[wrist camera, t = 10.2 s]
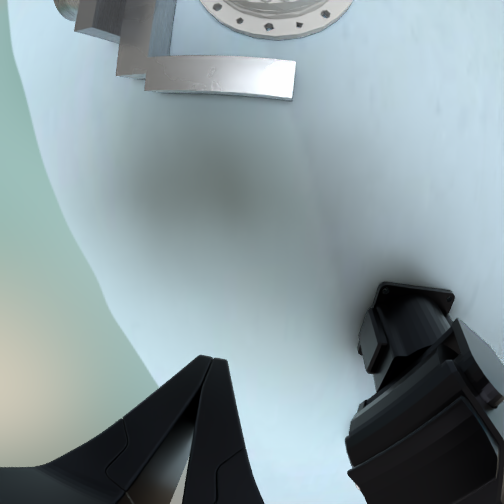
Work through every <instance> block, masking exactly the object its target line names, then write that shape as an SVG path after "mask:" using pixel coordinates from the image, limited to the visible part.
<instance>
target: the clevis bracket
mask: <svg viewBox="0 0 504 504" xmlns="http://www.w3.org/2000/svg"><path fill="white" fill-rule="evenodd" d="M54 3H55V6H56V8H57V10H58V11H59V13H60V14H61V15H62V16H63V17H64V18H66V19H68V20H70V21H76V23H75V29H74V32H79V33H82V34H86V35H90V36H94V37H98V38H101V39H105V40H108V41H111V42H115V43H118V44H119V51H118V59H117V69H116V76H120V77H127V78H133V79H145V90H144V91H152V92H160V93H199V94H222V95H237V96H250V97H261V98H270V99H279V100H287V101H292V99H293V90H294V82H295V73H296V61H289V60H280V59H269V58H258V57H242V56H217V55H182V56H169V49H170V41H171V34H172V26H173V19H174V13H175V6H176V0H54Z"/></svg>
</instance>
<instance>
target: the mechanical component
mask: <svg viewBox="0 0 504 504" xmlns="http://www.w3.org/2000/svg"><path fill="white" fill-rule="evenodd" d="M200 1H201V3H202V4H203V5H204V7H205V8H206V9H207V10H208V11H209V12H210V13H211V14H212V15H213V16H214V17H215V18H216V19H217V20H218V21H219V22H220V23H221V24H223V25H225V26H226V27H228V28H230V29H232V30H233V31H236V32H239V33H242V34H245V35H248V36H250V37H253V38H262V39H272V40H286V39H294V38H302V37H305V36H308V35H311V34H314V33H317V32H320V31H322V30H323V29H325V28H327V27H328V26H330V25H331V24H333V23H334V22H336V21H337V20H338V19H339V18H340V17H341V16H342V15H343V14H344V13H345V12H346V11H347V10H348V8H349V6H350V5H351V3H352V1H353V0H200ZM220 9H221V10H220ZM218 10H219V11H218ZM323 15H325V16H326V17H327V18H323V17H322V16H323ZM242 22H243V23H242ZM240 23H242V24H240ZM297 26H299V27H301V28H297ZM267 28H274V29H272V30H270V31H268V32H267V31H266V30H267Z"/></svg>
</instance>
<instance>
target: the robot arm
mask: <svg viewBox="0 0 504 504" xmlns="http://www.w3.org/2000/svg"><path fill="white" fill-rule="evenodd" d="M385 288H388V289H387V291H383V289H385ZM449 296H450V297H449ZM447 297H449V299H447ZM454 299H455V296H454V294H453V293H452V291H448V290H441V289H433V288H426V287H419V286H411V285H404V284H397V283H390V282H383V283H381V284H380V285H379V287H378V290H377V293H376V296H375V299H374V302H373V305H372V308H370V309H369V310H368V311H367V313H366V316H365V319H364V322H363V325H362V328H361V331H360V334H359V340H360V342H359V345H358V348H357V349H358V353H359V354H360V355H363V359H364V364H365V369H366V371H367V373H368V374H373V377H374V382H375V387H376V392H377V393H376V394H375V395H374V396H372V397H371V398H370V399H368V400H365V401H363V402H362V403H361V404H360V405H359V408H358V412H357V413H356V414H355V416H354V418H353V419H352V421H351V424H350V430H349V435H348V436H347V437H346V438H345V445H346V451H347V455H348V458H349V461H350V463H351V466H352V469H350V470H348V471H347V474H348V476H349V477H350V478H351V479H352V480H353V481H354V482H355V484H356V485H357V486H358V487H359V489H360V491H361V492H362V494H363V495H364V497H365V500H366V502H367V504H504V366H503V364H502V363H501V361H500V360H499V358H498V357H497V355H496V354H495V352H494V351H493V350H492V348H491V347H490V346H489V345H488V344H487V343H486V342H485V341H484V340H483V339H481V338H480V337H479V336H478V335H477V334H476V333H475V332H474V331H472V330H471V329H470V328H469V327H468V326H467V325H466V324H465V323H463V322H462V321H461V320H460V319H459V318H456V319H455V321H454V322H453V321H452V320H451V318H450V316H449V315H448V313H449V311H450V309H451V306H452V304H453V302H454ZM245 448H246V447H245V442H244V438H243V433H242V429H241V424H240V419H239V415H238V410H237V405H236V400H235V396H234V391H233V386H232V381H231V376H230V371H229V366H228V361H227V360H225V359H220V358H214V359H213V358H212V357H210V356H205V355H199V356H197V357H196V358H195V359H194V360H193V361H191V362H190V363H189V364H188V365H187V366H185V367H184V368H183V369H182V370H181V371H179V372H178V373H177V374H176V375H174V376H173V377H172V378H171V379H170V380H168V381H167V382H166V383H165V384H163V385H162V386H161V387H160V388H159V389H157V390H156V391H155V392H154V393H152V394H151V395H150V396H149V397H147V398H146V399H145V400H144V401H143V402H141V403H140V404H139V405H137V406H136V407H135V408H134V409H132V410H131V411H130V412H129V413H128V414H126V415H125V416H124V417H123V419H119V420H118V421H117V422H116V423H114V424H113V425H112V426H110V427H109V428H108V429H106V430H105V431H103V432H102V433H101V434H99V435H97V436H96V437H94V438H93V439H91V440H89V441H88V442H86V443H84V444H83V445H81V446H79V447H77V448H76V449H74V450H72V451H70V452H68V453H67V454H65V455H63V456H61V457H59V458H57V459H55V460H53V461H51V462H49V463H46V464H44V465H40V466H35V467H0V504H170V502H171V499H172V497H173V494H174V492H175V490H176V487H177V485H178V482H179V480H180V477H181V475H182V472H183V470H184V467H185V465H186V462H187V460H188V457H189V455H190V457H189V462H188V469H187V475H186V481H185V487H184V495H183V500H182V504H264V501H263V499H262V497H261V495H260V492H259V490H258V487H257V485H256V482H255V479H254V477H253V474H252V470H251V466H250V463H249V459H248V455H247V450H246V449H245Z"/></svg>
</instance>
